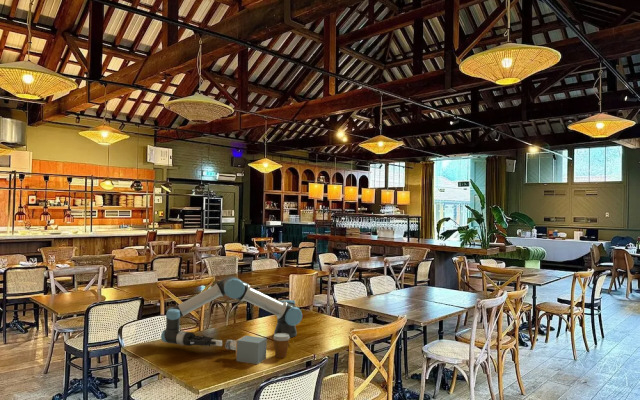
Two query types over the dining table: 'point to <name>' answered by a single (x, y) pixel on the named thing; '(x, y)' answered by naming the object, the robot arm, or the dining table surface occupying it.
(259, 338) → the block
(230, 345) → the steel peg
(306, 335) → the dining table surface
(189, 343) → the robot arm
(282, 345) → the disposable coffee cup
